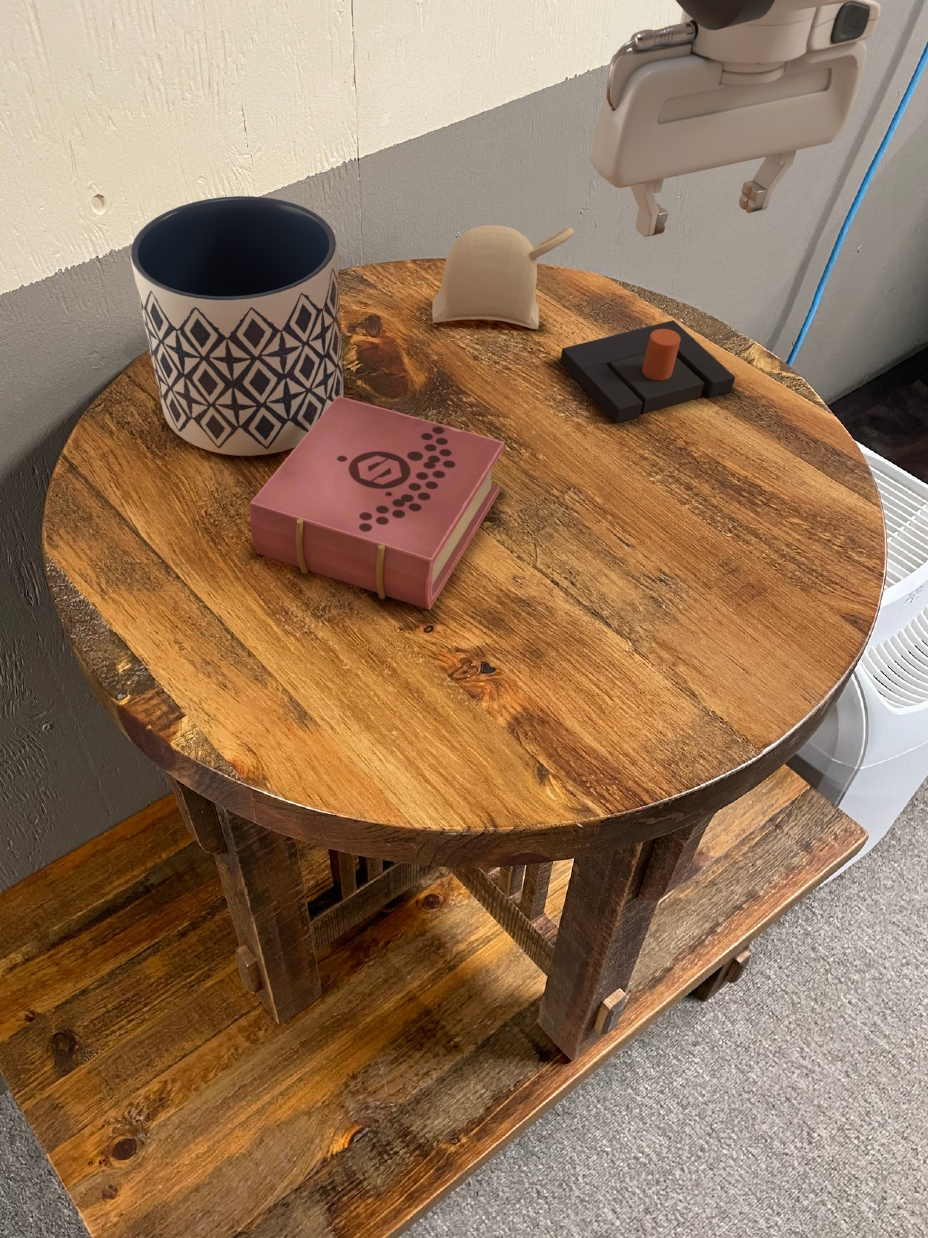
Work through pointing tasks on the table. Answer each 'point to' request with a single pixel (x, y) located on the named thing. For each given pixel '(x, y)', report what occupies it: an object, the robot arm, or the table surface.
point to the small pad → (658, 389)
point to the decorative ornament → (493, 276)
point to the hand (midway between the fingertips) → (701, 220)
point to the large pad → (596, 356)
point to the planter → (241, 321)
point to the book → (377, 500)
